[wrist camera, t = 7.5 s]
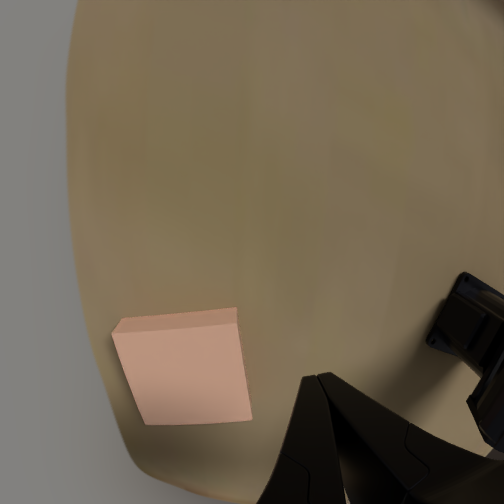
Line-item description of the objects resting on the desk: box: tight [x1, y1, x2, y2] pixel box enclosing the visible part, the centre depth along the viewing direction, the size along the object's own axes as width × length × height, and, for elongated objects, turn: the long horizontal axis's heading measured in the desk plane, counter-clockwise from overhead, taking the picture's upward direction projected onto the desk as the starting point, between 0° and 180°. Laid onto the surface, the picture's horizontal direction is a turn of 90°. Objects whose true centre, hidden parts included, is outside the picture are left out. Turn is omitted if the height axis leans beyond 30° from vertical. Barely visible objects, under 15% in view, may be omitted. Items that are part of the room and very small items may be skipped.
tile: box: [111, 307, 253, 425], centre depth 21 cm, size 3×8×8 cm
